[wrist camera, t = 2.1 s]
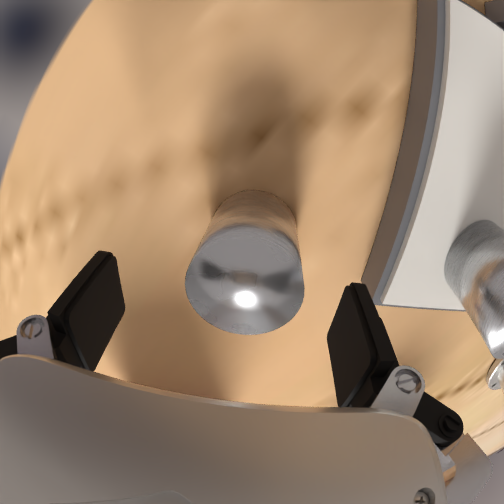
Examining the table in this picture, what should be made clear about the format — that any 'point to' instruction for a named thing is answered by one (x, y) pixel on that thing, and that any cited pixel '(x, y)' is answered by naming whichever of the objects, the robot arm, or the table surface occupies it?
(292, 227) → the cylinder
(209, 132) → the table surface
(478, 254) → the cylinder
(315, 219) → the table surface
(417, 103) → the scale
